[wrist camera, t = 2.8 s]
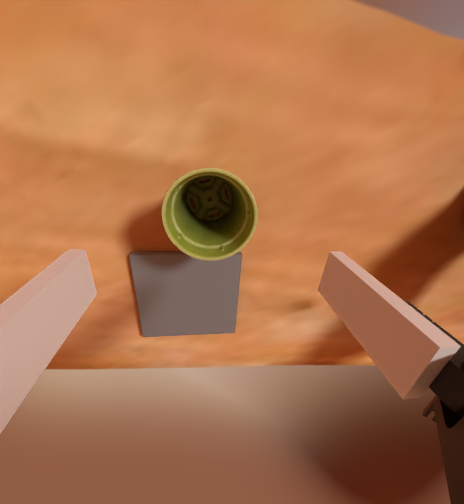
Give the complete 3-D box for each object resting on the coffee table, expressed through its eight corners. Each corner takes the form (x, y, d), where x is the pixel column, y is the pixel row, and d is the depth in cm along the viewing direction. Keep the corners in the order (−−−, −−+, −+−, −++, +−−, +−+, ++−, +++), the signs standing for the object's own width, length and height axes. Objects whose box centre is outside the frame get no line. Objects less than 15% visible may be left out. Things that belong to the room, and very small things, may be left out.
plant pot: (188, 239, 31) (183, 271, 24) (161, 173, 27) (144, 186, 19) (250, 220, 31) (265, 246, 23) (233, 150, 27) (244, 154, 19)
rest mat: (240, 252, 33) (242, 255, 32) (234, 328, 40) (234, 332, 39) (131, 251, 31) (129, 255, 30) (144, 332, 38) (143, 337, 37)
